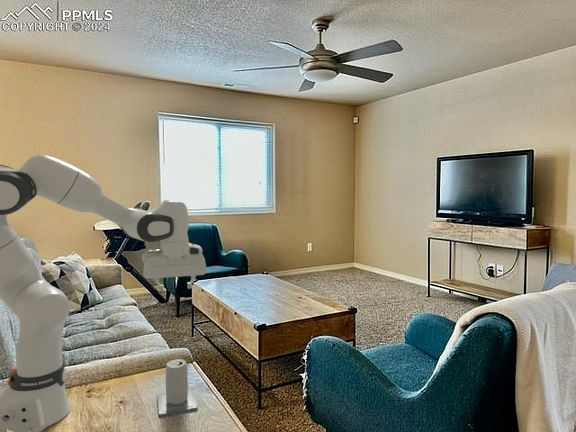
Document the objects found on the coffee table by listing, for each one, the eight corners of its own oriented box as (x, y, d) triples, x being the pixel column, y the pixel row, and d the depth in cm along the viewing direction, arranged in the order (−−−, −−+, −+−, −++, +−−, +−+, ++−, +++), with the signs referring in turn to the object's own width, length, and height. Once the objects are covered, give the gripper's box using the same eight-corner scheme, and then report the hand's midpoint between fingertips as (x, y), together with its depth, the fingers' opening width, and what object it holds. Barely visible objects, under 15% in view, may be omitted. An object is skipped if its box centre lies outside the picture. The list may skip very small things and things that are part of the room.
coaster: (158, 416, 113) (158, 413, 113) (157, 396, 124) (157, 393, 124) (197, 409, 117) (197, 406, 117) (193, 390, 127) (193, 387, 127)
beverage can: (185, 406, 117) (185, 367, 116) (163, 406, 117) (163, 368, 116) (189, 394, 124) (189, 357, 122) (168, 394, 123) (168, 358, 122)
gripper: (141, 252, 124) (142, 294, 126) (206, 249, 131) (207, 289, 133) (141, 248, 130) (142, 289, 132) (204, 245, 137) (204, 284, 139)
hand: (175, 289), depth 132 cm, fingers open, 8 cm apart
